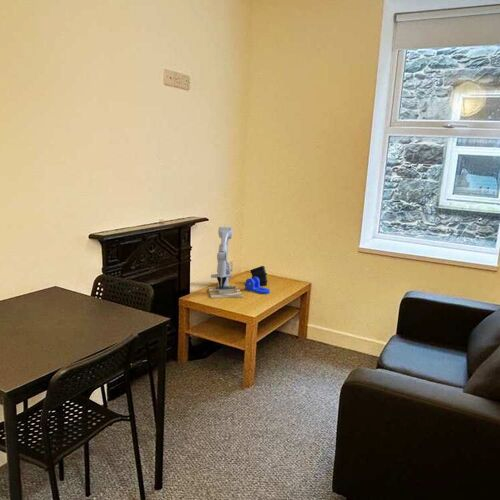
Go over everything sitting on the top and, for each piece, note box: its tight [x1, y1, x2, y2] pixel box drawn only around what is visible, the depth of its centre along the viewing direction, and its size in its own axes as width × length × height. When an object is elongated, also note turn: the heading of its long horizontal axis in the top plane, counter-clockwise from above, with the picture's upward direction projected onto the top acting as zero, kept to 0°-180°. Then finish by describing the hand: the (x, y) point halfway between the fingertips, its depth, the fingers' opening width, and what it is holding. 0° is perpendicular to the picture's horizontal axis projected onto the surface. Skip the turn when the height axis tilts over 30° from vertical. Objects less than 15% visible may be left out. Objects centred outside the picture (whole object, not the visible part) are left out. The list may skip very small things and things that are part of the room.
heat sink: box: [217, 285, 233, 294], centre depth 314 cm, size 10×10×3 cm
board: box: [208, 286, 244, 299], centre depth 314 cm, size 20×22×1 cm
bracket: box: [244, 276, 271, 295], centre depth 322 cm, size 18×8×9 cm, turn 54°
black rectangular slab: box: [249, 265, 269, 287], centre depth 337 cm, size 4×13×15 cm, turn 66°
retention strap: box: [214, 285, 237, 290], centre depth 314 cm, size 4×15×2 cm, turn 101°
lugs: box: [212, 285, 237, 293], centre depth 314 cm, size 6×17×4 cm, turn 101°
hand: (221, 287), depth 313 cm, fingers closed on retention strap
